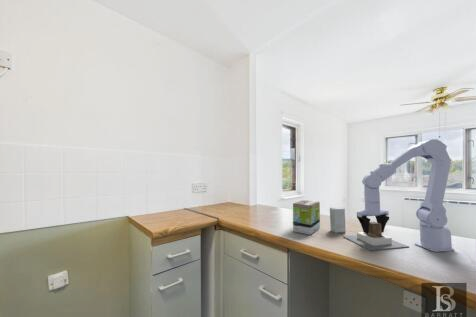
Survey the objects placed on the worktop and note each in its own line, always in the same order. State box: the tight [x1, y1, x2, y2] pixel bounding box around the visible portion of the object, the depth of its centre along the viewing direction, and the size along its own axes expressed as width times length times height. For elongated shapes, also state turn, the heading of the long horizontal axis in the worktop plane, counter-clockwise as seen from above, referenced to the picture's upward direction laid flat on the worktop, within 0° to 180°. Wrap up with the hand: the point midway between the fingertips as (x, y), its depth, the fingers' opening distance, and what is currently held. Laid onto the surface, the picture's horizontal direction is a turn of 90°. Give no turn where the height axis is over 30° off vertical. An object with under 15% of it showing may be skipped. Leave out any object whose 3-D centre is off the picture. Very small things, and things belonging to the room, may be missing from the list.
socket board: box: [342, 231, 410, 252], centre depth 89 cm, size 18×16×3 cm
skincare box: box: [329, 206, 347, 234], centre depth 104 cm, size 6×4×12 cm
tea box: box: [292, 199, 321, 236], centre depth 108 cm, size 15×10×15 cm, turn 143°
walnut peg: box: [366, 221, 383, 238], centre depth 89 cm, size 4×4×8 cm
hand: (373, 232), depth 89 cm, fingers open, 7 cm apart
